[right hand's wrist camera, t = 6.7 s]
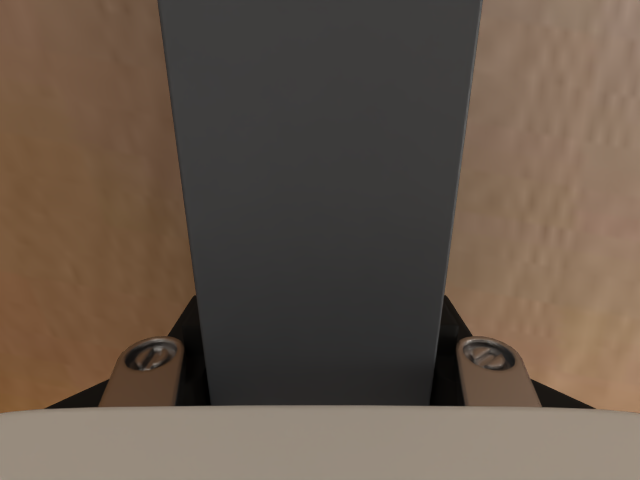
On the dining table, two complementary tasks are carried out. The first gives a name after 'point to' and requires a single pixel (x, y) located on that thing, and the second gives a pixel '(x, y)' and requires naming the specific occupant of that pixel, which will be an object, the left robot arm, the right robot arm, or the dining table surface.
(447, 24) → the post
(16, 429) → the right robot arm
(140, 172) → the dining table surface
